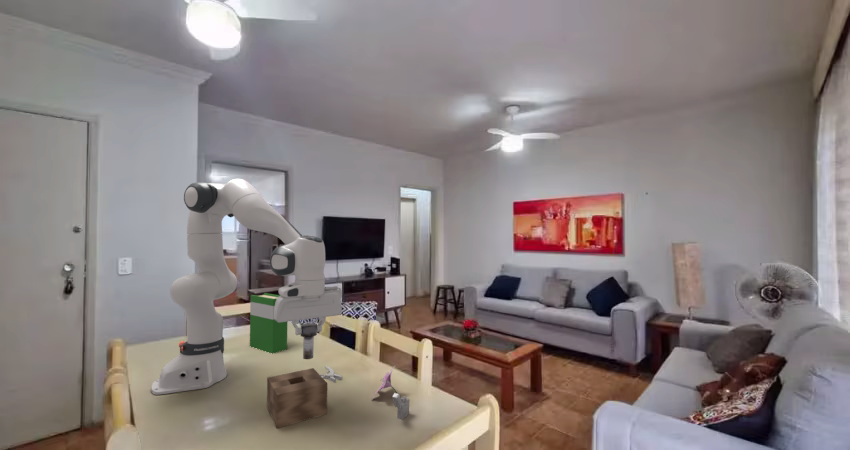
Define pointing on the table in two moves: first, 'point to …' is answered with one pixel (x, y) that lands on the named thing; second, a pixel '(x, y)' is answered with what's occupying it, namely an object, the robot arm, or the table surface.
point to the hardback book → (266, 325)
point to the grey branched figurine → (331, 375)
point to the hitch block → (296, 397)
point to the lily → (386, 382)
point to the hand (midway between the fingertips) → (308, 332)
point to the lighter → (401, 405)
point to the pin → (308, 339)
